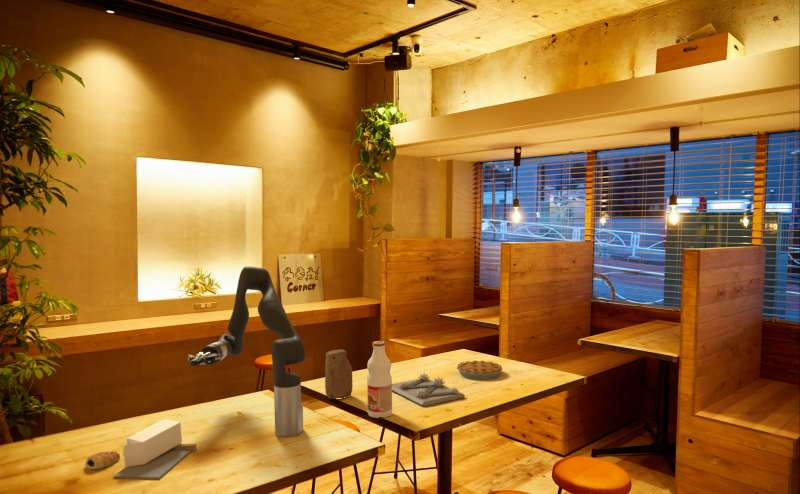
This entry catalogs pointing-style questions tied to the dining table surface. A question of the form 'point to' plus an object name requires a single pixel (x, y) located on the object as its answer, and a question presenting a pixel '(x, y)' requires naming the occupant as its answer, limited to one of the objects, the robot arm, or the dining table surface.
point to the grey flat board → (157, 464)
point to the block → (338, 374)
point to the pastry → (102, 460)
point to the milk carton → (151, 442)
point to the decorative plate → (427, 391)
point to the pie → (479, 369)
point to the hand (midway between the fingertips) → (193, 363)
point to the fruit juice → (379, 382)
